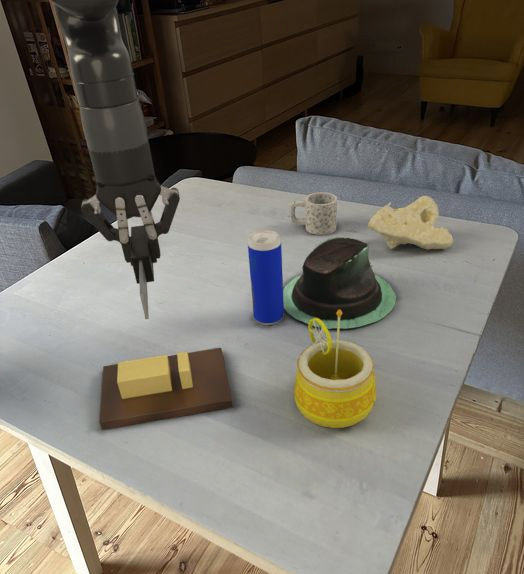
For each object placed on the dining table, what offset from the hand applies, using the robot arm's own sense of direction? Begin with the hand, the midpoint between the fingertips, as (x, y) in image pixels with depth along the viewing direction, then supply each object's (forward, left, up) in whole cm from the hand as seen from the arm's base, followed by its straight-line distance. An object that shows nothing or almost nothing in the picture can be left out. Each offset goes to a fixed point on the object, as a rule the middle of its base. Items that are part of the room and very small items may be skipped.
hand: (144, 261), depth 78 cm
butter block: (-2, -12, -13) cm, 18 cm away
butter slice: (+3, -12, -13) cm, 18 cm away
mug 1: (+34, +33, -15) cm, 50 cm away
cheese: (+49, +18, -15) cm, 55 cm away
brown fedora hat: (+31, +5, -15) cm, 35 cm away
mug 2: (+23, -20, -15) cm, 34 cm away
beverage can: (+18, +2, -15) cm, 24 cm away
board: (0, -12, -15) cm, 19 cm away
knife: (0, -5, -1) cm, 5 cm away
